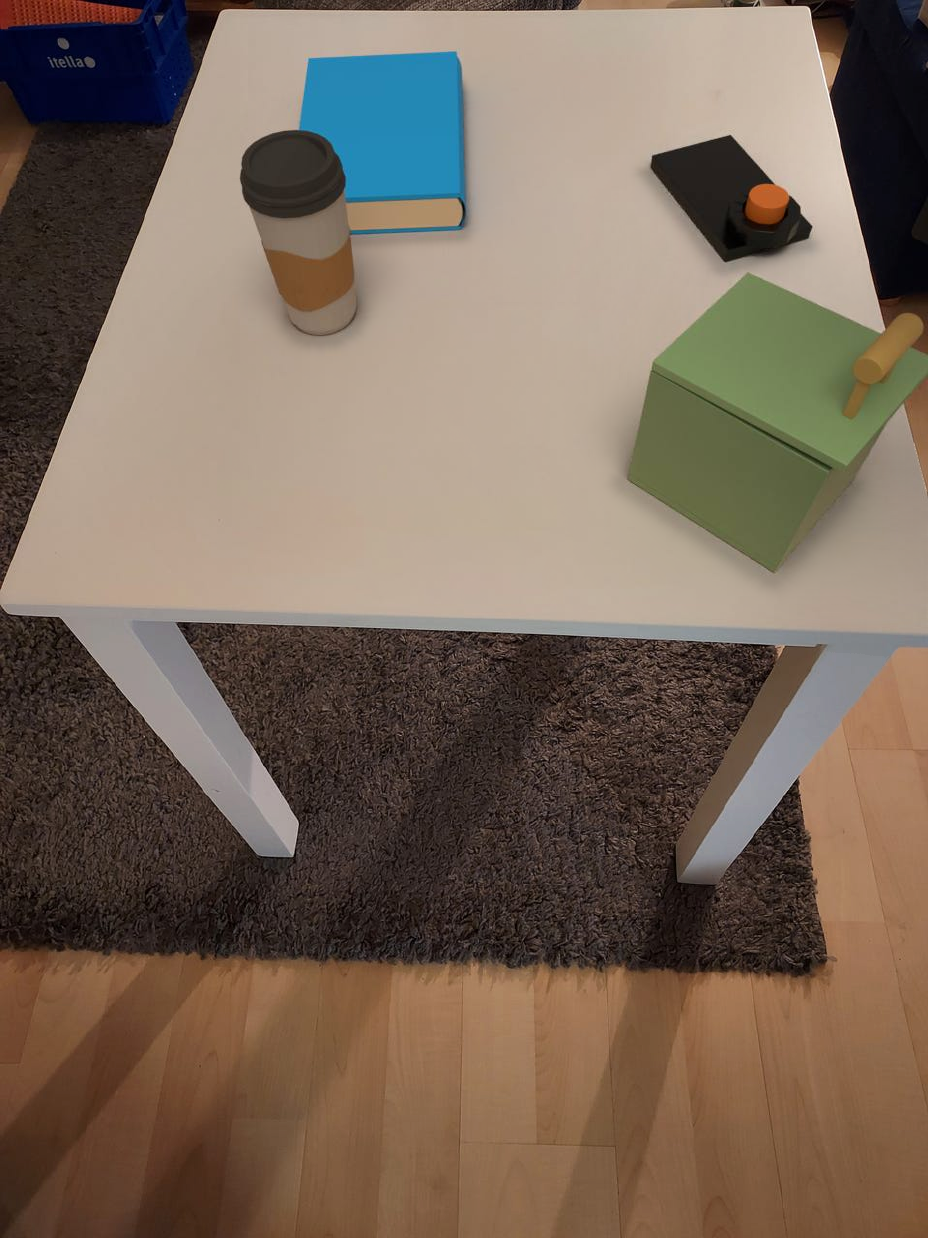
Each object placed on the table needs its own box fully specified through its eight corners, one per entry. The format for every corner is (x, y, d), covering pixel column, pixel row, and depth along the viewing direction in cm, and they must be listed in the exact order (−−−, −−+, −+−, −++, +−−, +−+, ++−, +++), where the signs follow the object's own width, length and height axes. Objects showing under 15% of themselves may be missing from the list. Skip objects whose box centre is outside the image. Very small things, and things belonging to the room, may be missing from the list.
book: (288, 201, 80) (305, 54, 92) (298, 240, 84) (312, 94, 96) (468, 192, 80) (461, 45, 92) (469, 232, 83) (462, 86, 95)
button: (791, 219, 78) (796, 202, 77) (756, 228, 78) (761, 211, 76) (771, 196, 80) (776, 179, 78) (737, 206, 79) (742, 188, 78)
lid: (933, 368, 56) (972, 298, 51) (843, 474, 52) (876, 408, 47) (745, 280, 61) (764, 209, 56) (650, 369, 57) (662, 301, 52)
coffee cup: (381, 292, 79) (358, 135, 66) (346, 353, 75) (313, 199, 62) (302, 275, 81) (263, 118, 68) (263, 333, 77) (215, 179, 64)
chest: (853, 479, 67) (918, 368, 56) (774, 573, 63) (828, 472, 52) (709, 397, 71) (744, 281, 61) (627, 479, 67) (650, 370, 57)
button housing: (815, 246, 80) (826, 217, 78) (731, 270, 79) (739, 242, 76) (727, 146, 88) (734, 117, 86) (650, 166, 87) (654, 138, 84)
